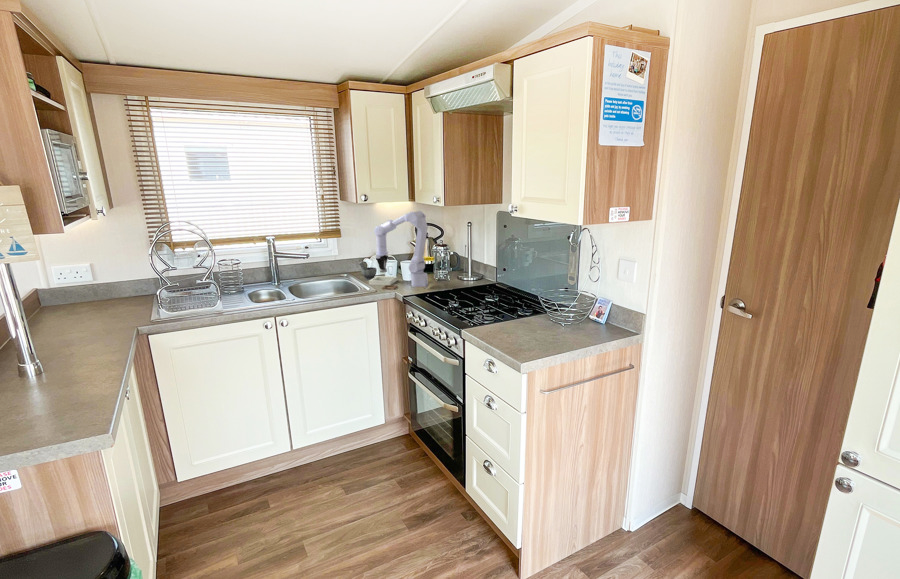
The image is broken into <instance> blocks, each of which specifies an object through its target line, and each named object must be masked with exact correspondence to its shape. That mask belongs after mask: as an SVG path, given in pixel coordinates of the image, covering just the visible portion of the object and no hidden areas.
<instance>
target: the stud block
mask: <svg viewBox="0 0 900 579" xmlns="http://www.w3.org/2000/svg"><path fill="white" fill-rule="evenodd" d="M397 288H398V285H395V284H391V285H383V286H382V287H381V290H385V291H386V290H387V291H388V290H390V291H394V290H396V289H397Z"/></svg>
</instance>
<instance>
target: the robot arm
mask: <svg viewBox="0 0 900 579" xmlns="http://www.w3.org/2000/svg"><path fill="white" fill-rule="evenodd" d="M426 217H427V216H426V214H425V213H424V212H423V211H422V210H417V211H410V212H407V213H404V214H403V215H402V216H400V217H398V218H396V219H394V220H393V219H387V220H386V222H384V223H381V224H380V225H376V226H375V228H374V229H373V233H374V234H375V236H376V238H375V239H376V253H375V259H376V261H377V264H378V267H379V270H380V269H384V261H385V263H386V264H387V262H388V259H389V257H390V256H389V251H387V250H388V249H387V234H389V233H390V232H392V231H394V230H395V229H397V226H399V225H401V224H403V223H405V222H409V223H410V224H411V225H413V226H415V229H417V232H416V237H415V238H416V239H415V245H414V252H413V256H412V258H411V259H410V263H409V265H408V270H409V272H410V279H411V285H410V286H411V287H415V288H419V287H420V288H421V287H422V288H423V289H424V290H426V289H427V288H428V287H429V280H428V276H429V275H428V273H427V272H424V270H425V268H426V264H425V263H426V262H425V261H426V260H425V257H424V253H425V247H426V240H427V234H428V224H427V220H426Z"/></svg>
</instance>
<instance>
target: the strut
mask: <svg viewBox="0 0 900 579" xmlns="http://www.w3.org/2000/svg"><path fill="white" fill-rule="evenodd" d="M379 272H380V273H387V272H388V270H387V263H385V261H384V269H380V268H379Z"/></svg>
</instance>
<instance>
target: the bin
mask: <svg viewBox="0 0 900 579" xmlns="http://www.w3.org/2000/svg"><path fill="white" fill-rule="evenodd" d="M397 281H398V276H385V275H383V276H382V275H379V276H378V275H375V276H374V278H373V279H371V280H368V285H370V286H371V285H372V286H373V285H376V286H377V285H378V286H385V285H394V283H395V282H397Z"/></svg>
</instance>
